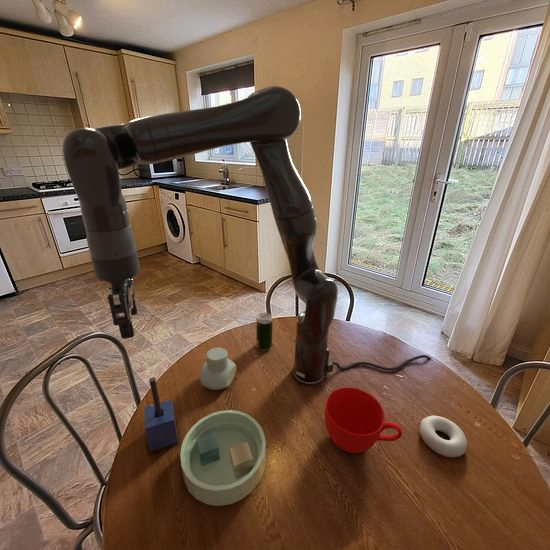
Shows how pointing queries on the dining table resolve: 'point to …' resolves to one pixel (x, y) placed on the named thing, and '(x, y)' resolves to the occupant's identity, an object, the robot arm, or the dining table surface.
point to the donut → (439, 445)
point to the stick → (155, 396)
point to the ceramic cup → (356, 420)
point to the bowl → (223, 458)
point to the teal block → (208, 448)
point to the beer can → (264, 331)
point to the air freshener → (217, 370)
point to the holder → (160, 426)
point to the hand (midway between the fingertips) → (130, 325)
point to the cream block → (241, 459)
